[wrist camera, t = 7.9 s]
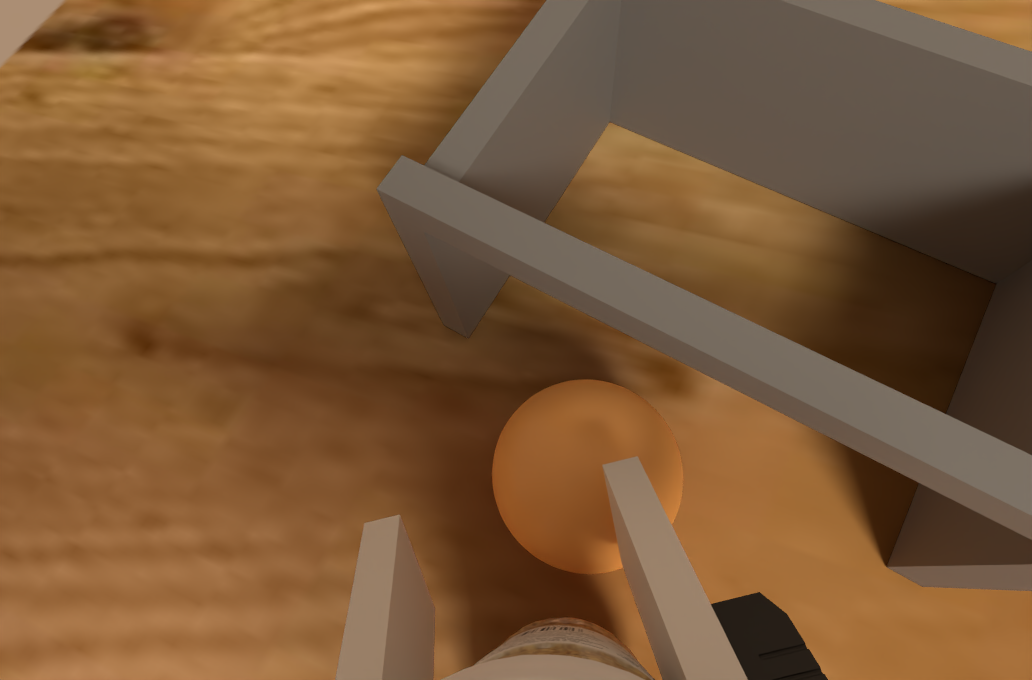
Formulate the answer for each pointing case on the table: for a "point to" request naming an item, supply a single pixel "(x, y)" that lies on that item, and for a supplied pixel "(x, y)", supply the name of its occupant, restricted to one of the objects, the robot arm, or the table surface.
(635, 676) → the sprinkles bottle
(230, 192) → the table surface
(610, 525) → the ball
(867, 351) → the table surface
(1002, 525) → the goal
